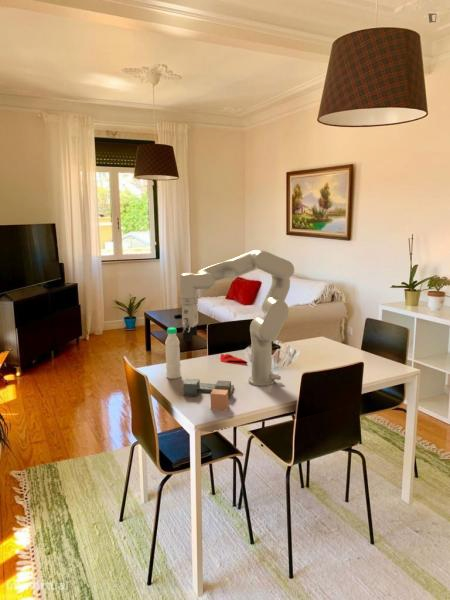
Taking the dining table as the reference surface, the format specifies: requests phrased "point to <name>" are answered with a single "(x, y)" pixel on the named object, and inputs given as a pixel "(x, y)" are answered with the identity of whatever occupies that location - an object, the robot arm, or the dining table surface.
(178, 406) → the dining table surface
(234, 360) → the cloth
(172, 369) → the water bottle
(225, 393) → the block
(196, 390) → the gray dumbbell
